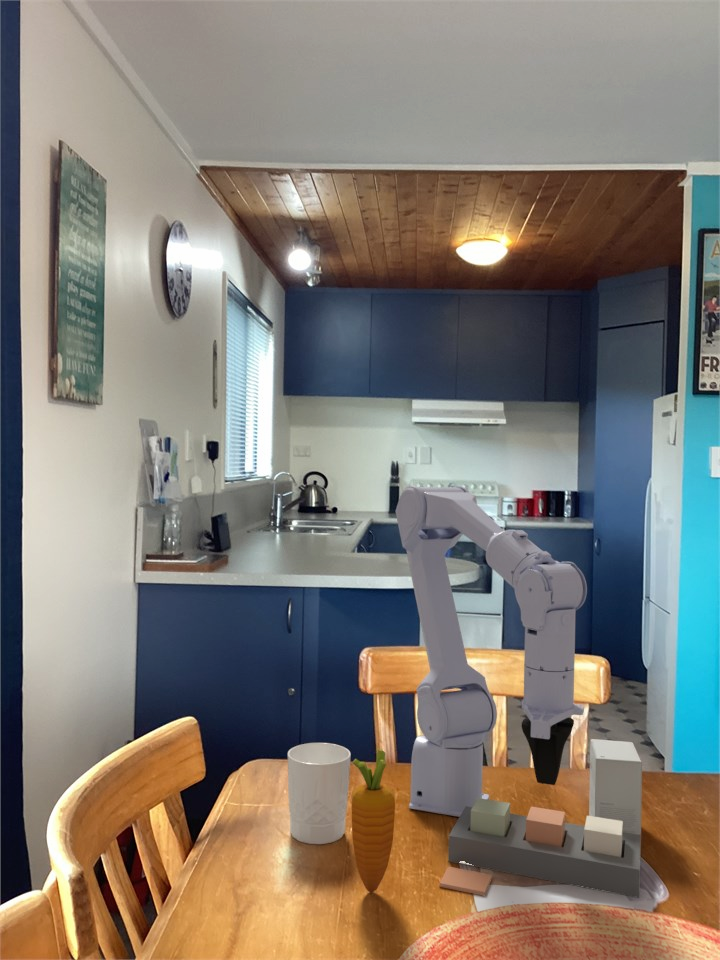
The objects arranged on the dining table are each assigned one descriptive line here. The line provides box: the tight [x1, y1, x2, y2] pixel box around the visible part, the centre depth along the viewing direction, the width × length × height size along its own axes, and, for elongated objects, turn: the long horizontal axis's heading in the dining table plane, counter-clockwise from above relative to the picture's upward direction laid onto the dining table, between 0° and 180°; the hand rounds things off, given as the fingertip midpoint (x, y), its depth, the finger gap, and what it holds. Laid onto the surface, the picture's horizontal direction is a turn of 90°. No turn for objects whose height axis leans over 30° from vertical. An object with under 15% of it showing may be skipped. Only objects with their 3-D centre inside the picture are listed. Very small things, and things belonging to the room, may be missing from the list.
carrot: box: [351, 748, 396, 894], centre depth 85 cm, size 5×5×15 cm
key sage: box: [470, 798, 511, 837], centre depth 96 cm, size 4×4×4 cm
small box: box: [588, 738, 643, 836], centre depth 102 cm, size 8×6×10 cm
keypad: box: [447, 806, 642, 898], centre depth 93 cm, size 21×9×3 cm, turn 70°
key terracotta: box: [526, 806, 566, 847], centre depth 93 cm, size 4×4×4 cm
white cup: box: [287, 742, 351, 845], centre depth 100 cm, size 8×8×10 cm
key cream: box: [584, 815, 623, 857], centre depth 91 cm, size 4×4×4 cm
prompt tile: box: [439, 866, 493, 896], centre depth 88 cm, size 5×4×1 cm
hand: (546, 782), depth 93 cm, fingers closed
